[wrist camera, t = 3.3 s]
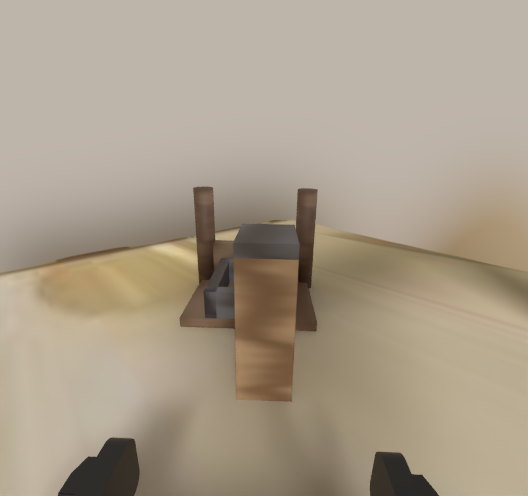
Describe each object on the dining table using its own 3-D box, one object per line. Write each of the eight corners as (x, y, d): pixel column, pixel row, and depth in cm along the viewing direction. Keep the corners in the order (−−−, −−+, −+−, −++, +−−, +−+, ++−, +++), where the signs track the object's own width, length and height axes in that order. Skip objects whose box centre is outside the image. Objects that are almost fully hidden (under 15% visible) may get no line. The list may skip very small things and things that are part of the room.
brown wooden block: (288, 355, 26) (294, 224, 22) (291, 401, 21) (299, 244, 17) (243, 354, 26) (242, 223, 22) (236, 399, 21) (233, 242, 17)
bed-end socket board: (309, 281, 41) (316, 188, 37) (323, 331, 29) (334, 203, 25) (201, 278, 41) (196, 186, 37) (173, 326, 30) (161, 200, 26)
